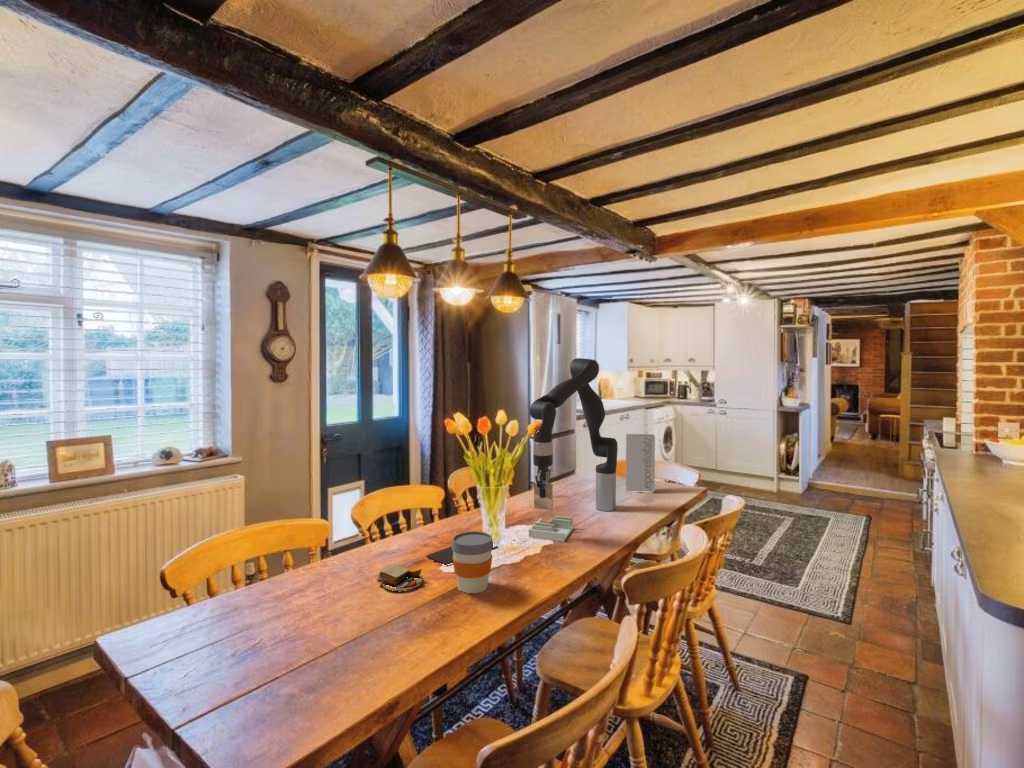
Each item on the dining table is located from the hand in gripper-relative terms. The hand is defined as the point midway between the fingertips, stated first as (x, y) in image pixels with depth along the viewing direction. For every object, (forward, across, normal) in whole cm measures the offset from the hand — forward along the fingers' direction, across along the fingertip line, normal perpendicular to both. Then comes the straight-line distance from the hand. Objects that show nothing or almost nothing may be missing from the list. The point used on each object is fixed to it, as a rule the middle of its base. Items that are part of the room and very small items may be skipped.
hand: (543, 496), depth 193 cm
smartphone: (+16, +25, -23) cm, 38 cm away
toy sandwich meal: (+16, +55, -30) cm, 64 cm away
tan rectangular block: (+5, 0, 0) cm, 5 cm away
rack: (+16, -5, +2) cm, 17 cm away
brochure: (+17, -81, +29) cm, 87 cm away
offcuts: (+15, -5, 0) cm, 16 cm away
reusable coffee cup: (+15, +49, -8) cm, 52 cm away
